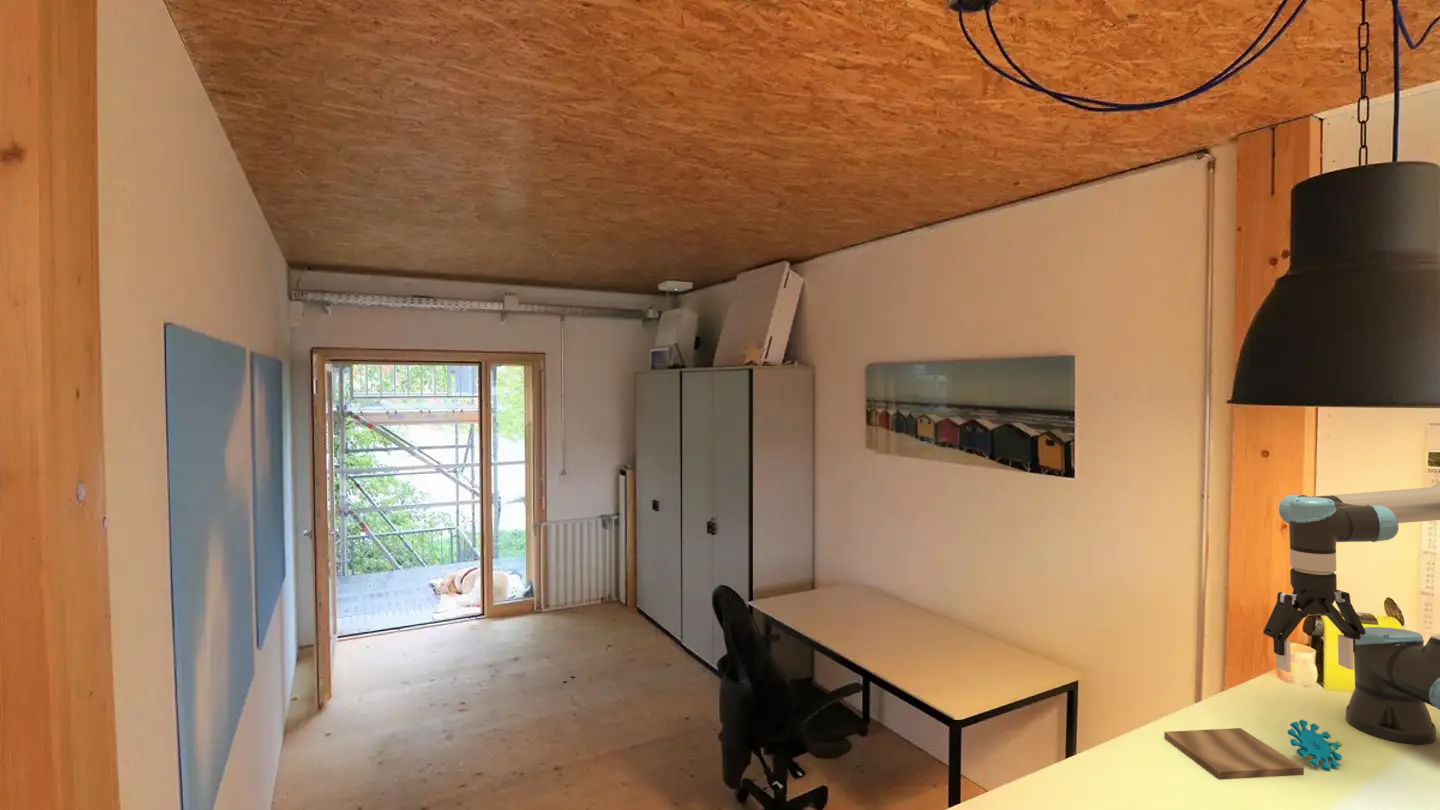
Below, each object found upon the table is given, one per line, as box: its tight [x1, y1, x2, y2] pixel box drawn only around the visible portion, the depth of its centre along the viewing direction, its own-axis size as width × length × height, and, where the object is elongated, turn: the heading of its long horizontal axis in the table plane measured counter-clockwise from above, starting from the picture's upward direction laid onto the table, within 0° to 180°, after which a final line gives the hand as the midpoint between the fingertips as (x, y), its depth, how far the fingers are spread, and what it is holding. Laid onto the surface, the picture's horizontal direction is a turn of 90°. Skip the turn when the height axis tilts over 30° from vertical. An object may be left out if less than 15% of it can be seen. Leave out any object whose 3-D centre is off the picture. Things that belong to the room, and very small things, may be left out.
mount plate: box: [1164, 727, 1305, 780], centre depth 151 cm, size 18×17×2 cm
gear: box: [1287, 719, 1343, 771], centre depth 149 cm, size 11×6×10 cm
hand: (1314, 668), depth 147 cm, fingers open, 13 cm apart
